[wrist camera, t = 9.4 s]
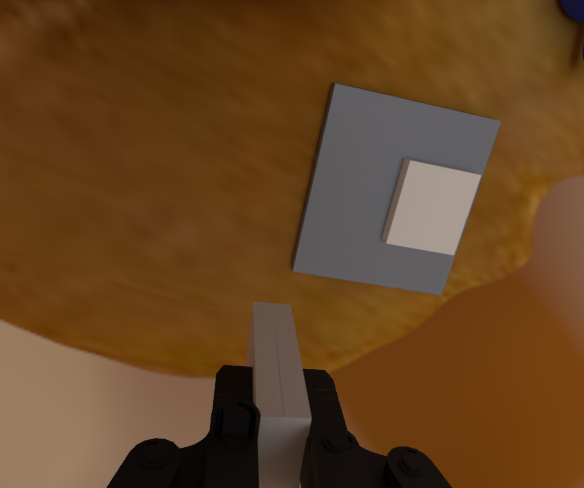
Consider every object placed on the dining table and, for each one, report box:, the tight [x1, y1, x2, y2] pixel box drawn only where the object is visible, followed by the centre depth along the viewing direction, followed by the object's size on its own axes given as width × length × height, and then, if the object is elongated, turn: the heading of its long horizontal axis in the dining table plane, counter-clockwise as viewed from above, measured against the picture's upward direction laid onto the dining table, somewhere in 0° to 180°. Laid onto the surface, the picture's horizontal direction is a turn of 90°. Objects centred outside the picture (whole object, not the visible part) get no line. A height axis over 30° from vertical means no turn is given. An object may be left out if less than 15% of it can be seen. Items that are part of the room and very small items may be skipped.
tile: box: [382, 158, 481, 255], centre depth 43 cm, size 8×2×7 cm
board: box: [291, 83, 501, 295], centre depth 44 cm, size 18×16×2 cm
